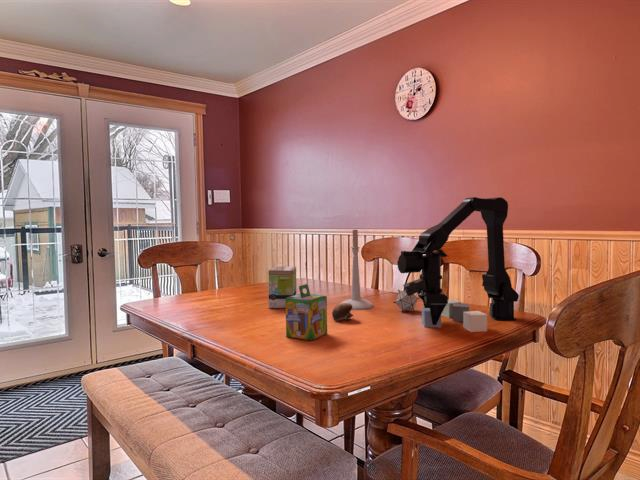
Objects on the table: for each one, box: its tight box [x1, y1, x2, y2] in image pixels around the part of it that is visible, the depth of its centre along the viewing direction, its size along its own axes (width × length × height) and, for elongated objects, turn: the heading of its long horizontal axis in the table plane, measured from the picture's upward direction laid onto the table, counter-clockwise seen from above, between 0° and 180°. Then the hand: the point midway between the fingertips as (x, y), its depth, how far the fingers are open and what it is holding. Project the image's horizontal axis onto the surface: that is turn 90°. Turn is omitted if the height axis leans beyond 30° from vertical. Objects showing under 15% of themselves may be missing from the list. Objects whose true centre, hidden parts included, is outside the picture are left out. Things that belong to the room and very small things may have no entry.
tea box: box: [268, 265, 297, 309], centre depth 169 cm, size 15×10×15 cm
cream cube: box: [462, 310, 488, 333], centre depth 127 cm, size 5×5×5 cm
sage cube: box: [441, 299, 462, 319], centre depth 145 cm, size 5×5×5 cm
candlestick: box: [339, 229, 374, 311], centre depth 162 cm, size 13×13×30 cm
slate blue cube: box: [421, 307, 442, 328], centre depth 132 cm, size 5×5×5 cm
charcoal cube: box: [452, 302, 470, 323], centre depth 139 cm, size 5×5×5 cm
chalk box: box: [285, 283, 328, 341], centre depth 123 cm, size 9×9×15 cm
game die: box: [392, 289, 421, 313], centre depth 153 cm, size 9×8×10 cm
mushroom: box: [331, 302, 354, 321], centre depth 141 cm, size 8×8×6 cm
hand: (431, 321), depth 133 cm, fingers open, 9 cm apart
